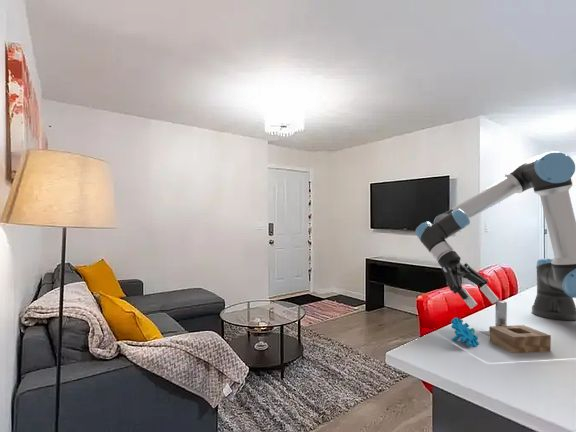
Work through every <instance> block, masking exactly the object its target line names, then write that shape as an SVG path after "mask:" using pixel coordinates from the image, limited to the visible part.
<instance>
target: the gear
mask: <svg viewBox="0 0 576 432" xmlns="http://www.w3.org/2000/svg"><path fill="white" fill-rule="evenodd" d="M463 322H464V320H463V319H462V318H458V317H453V319H452V320H451V321H450V323H451V326H450V327H451V329H454V333H455V336H454V337H453V338H451V340H452V341H457V340H459V339H460V341H461V343H464V342H466V343H465V344H466V345H467V346H468V347H478V345H479V344H480V342H479V341H478V340H479V338H478V335H476V334H475V331H476V329H475V328H474V327H472V328H469V327H470V325H469V324H468V323H467V322H465V323H463Z"/></svg>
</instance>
